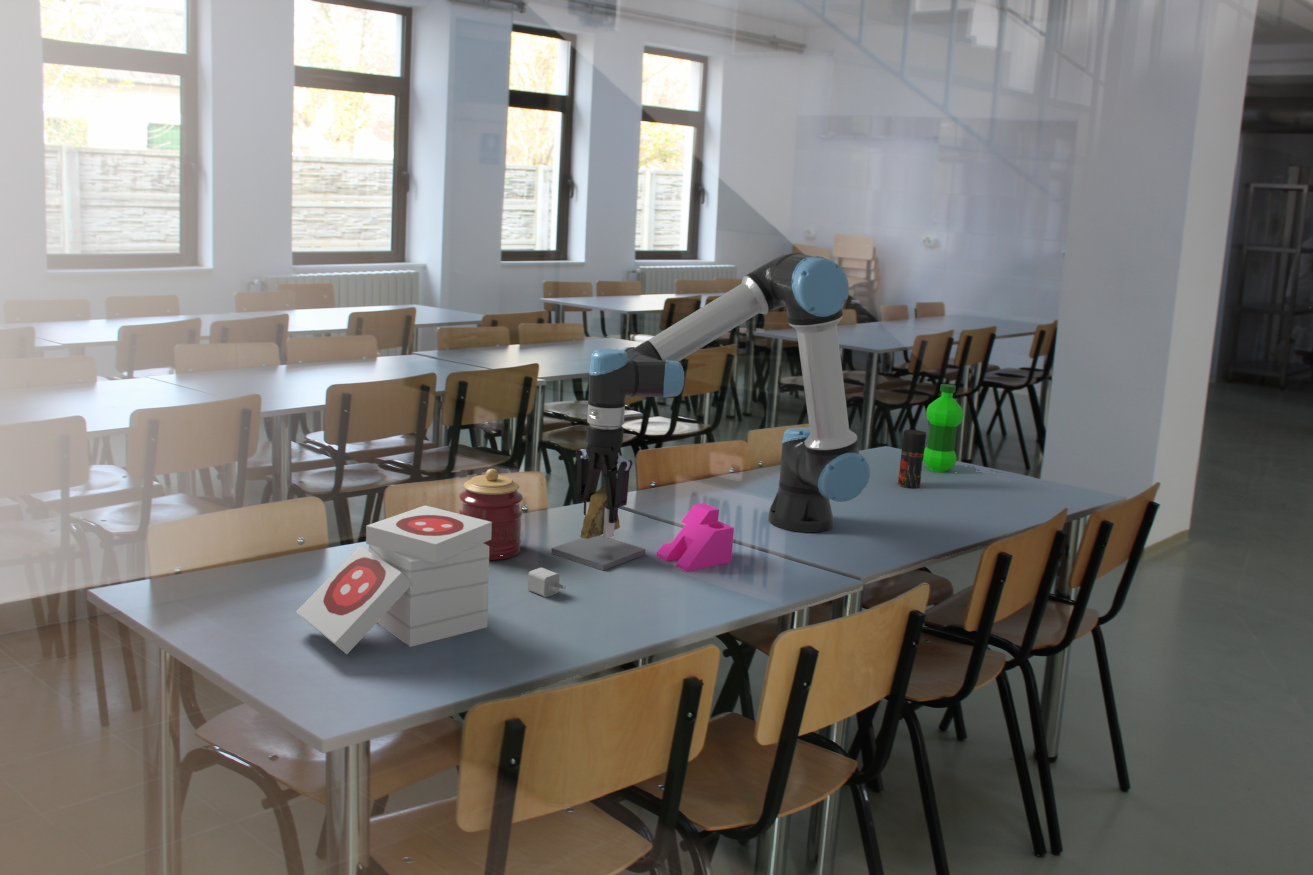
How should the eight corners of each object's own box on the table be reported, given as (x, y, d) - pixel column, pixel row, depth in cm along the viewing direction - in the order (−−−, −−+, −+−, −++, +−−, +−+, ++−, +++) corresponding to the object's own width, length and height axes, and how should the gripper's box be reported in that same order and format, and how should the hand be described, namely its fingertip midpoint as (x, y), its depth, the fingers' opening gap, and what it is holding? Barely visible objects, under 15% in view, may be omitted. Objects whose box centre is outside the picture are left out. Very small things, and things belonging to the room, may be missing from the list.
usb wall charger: (542, 586, 209) (543, 566, 208) (568, 596, 205) (569, 576, 204) (527, 591, 206) (528, 571, 205) (553, 601, 202) (554, 581, 201)
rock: (585, 531, 219) (630, 516, 223) (569, 496, 223) (612, 481, 226) (579, 554, 228) (622, 539, 232) (563, 520, 232) (605, 506, 235)
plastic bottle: (921, 472, 313) (931, 387, 307) (919, 463, 323) (929, 380, 317) (957, 475, 311) (968, 390, 306) (953, 467, 321) (964, 383, 316)
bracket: (700, 548, 237) (703, 502, 234) (731, 562, 229) (734, 515, 226) (656, 556, 229) (659, 510, 227) (686, 572, 221) (690, 523, 219)
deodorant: (921, 489, 295) (928, 435, 291) (900, 487, 295) (906, 434, 292) (917, 483, 301) (923, 430, 297) (895, 481, 301) (901, 429, 297)
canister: (445, 548, 226) (446, 466, 222) (494, 536, 235) (496, 457, 231) (484, 565, 217) (486, 481, 213) (533, 552, 227) (537, 471, 223)
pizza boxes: (291, 629, 183) (289, 527, 179) (448, 594, 202) (450, 501, 198) (341, 671, 169) (340, 561, 165) (505, 629, 188) (508, 530, 184)
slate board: (645, 554, 230) (645, 549, 230) (603, 570, 219) (603, 564, 219) (594, 538, 238) (594, 533, 238) (551, 553, 227) (551, 547, 227)
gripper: (561, 420, 224) (556, 527, 229) (627, 435, 214) (620, 548, 219) (585, 415, 230) (579, 520, 235) (650, 430, 220) (642, 539, 225)
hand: (599, 533), depth 227 cm, fingers closed on rock, 4 cm apart
